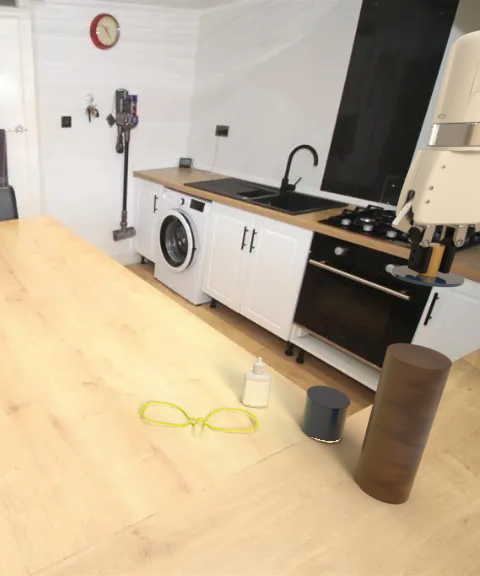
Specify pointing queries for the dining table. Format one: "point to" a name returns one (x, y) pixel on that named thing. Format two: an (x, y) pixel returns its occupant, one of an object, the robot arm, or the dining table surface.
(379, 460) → the brown wooden cylinder
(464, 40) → the robot arm
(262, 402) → the eye dropper bottle
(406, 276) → the lid
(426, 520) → the dining table surface
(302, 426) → the canister
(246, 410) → the glasses
